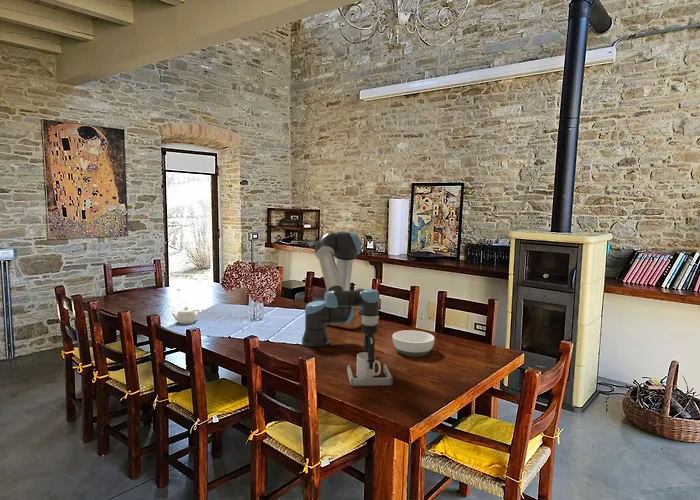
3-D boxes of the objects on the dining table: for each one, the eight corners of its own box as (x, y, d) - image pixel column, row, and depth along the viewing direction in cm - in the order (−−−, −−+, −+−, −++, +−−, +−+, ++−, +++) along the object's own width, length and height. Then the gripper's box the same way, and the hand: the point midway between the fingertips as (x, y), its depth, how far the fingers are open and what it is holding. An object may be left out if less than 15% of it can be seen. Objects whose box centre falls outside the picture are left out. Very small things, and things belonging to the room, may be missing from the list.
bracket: (350, 386, 200) (350, 379, 200) (347, 371, 217) (347, 365, 216) (392, 385, 202) (392, 378, 201) (385, 370, 219) (385, 364, 218)
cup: (362, 371, 216) (362, 351, 215) (384, 377, 210) (385, 356, 209) (352, 377, 209) (353, 356, 208) (376, 383, 203) (376, 361, 202)
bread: (352, 330, 283) (353, 306, 282) (318, 324, 297) (318, 301, 295) (363, 325, 295) (364, 302, 293) (329, 319, 308) (330, 297, 307)
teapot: (176, 327, 283) (176, 311, 282) (166, 323, 291) (165, 308, 290) (204, 321, 299) (204, 305, 298) (193, 317, 306) (193, 302, 305)
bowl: (407, 361, 232) (408, 345, 231) (384, 347, 252) (384, 333, 251) (442, 354, 243) (443, 339, 242) (417, 342, 262) (418, 328, 261)
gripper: (382, 330, 197) (380, 380, 199) (374, 317, 220) (372, 361, 222) (364, 331, 196) (363, 380, 199) (358, 317, 219) (357, 361, 221)
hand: (368, 370), depth 210 cm, fingers open, 10 cm apart
